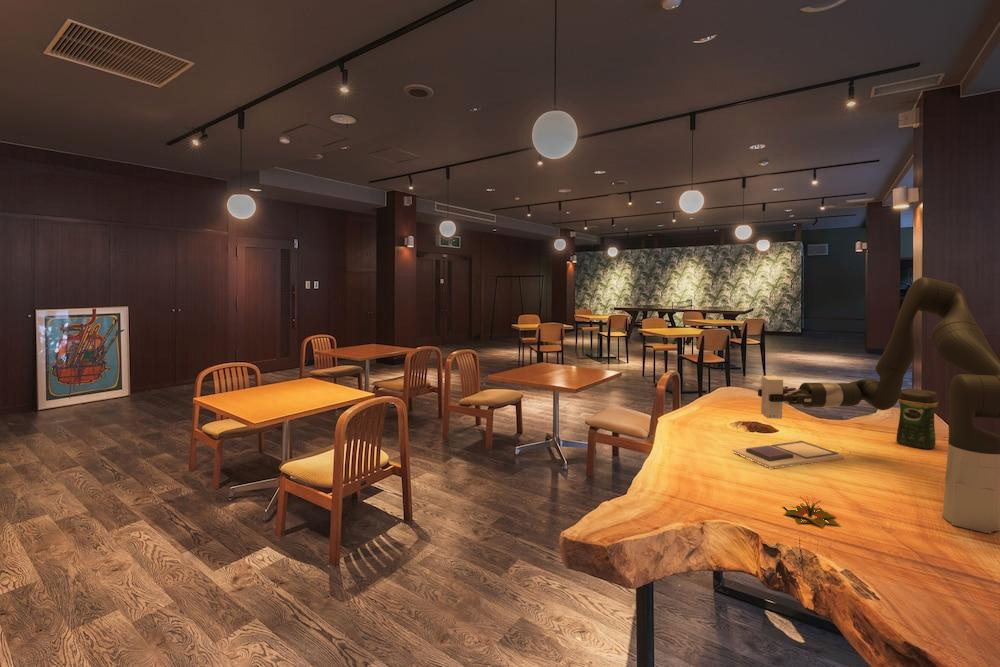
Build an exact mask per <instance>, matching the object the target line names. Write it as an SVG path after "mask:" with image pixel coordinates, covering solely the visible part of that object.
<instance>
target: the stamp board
mask: <svg viewBox="0 0 1000 667" xmlns="http://www.w3.org/2000/svg"><path fill="white" fill-rule="evenodd" d="M732 451H734V452H736V453H739V454H741V455H743V456H745V457H747V458H750V459H752V460H754V461H756V462H759V463H761V464H763V465H766V466H768V467H770V468H775V467H782V466H789V467H791V466H790V465H796V466H798V465H797V464H802V465H807V464H806V463H808V464H814V463H813V462H815V463H820V462H827V461H833V460H841V459H844V454H842V453H839V452H836V451H834V450H830V449H827V448H824V447H821V446H818V445H815V444H812V443H809V442H806V441H803V440H794V441H787V442H778V443H772V444H763V445H756V446H750V447H742V448H736V449H732V450H731V452H732Z"/></svg>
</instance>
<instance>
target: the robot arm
mask: <svg viewBox="0 0 1000 667" xmlns="http://www.w3.org/2000/svg"><path fill="white" fill-rule="evenodd" d="M919 311H920V312H922V313H923V312H924V313H927V314H931V315H934V316H936V317H939V318H940V319H941V320H940V321H939V322H938V323H937V324H935V326H934V327H933V330H932V332H931V338H932V342H933V344H934V346H935V348H936V350H937V352H938V354H939V356H940V357H941V358H942V359H943V360H944V361H946V362H947V363H949V364H950V365H952V366H954V367H955V368H957V369H959V370H960V371H962V372H964V373H967V374H964V373H963V374H962V373H960V374H959V373H958V374H956V375H955V376H953V377H952V380H951V381H950V384H949V389H948V390H949V391H948V393H949V394H948V409H949V410H948V443H947V454H946V467H945V478H944V494H943V507H942V508H943V509H942V517H943V518H944V520H945V521H947V522H949V523H951V525H952V526H955V527H959V528H964V529H968V530H972V531H977V532H979V533H984V534H988V533H989V534H992V533H994V532H993V531H996V532H998V530H999V529H1000V434H998V433H996V432H995V433H994V432H991V431H988V430H986V429H984V428H982V427H979V426H977V424H975V422H974V421H975V420H974V418H983V419H994V420H998V419H999V420H1000V359H999V358H998V357H997V355H996V353H995V352H994V351H993V349H992V347H991V346H990V344H989V341H988V339H987V338H986V336H985V334H984V333H983V330H982V329H981V328H980V326H979V324H978V323H977V321H976V320H975V318H974V316H973V314H972V312H971V310H970V307H969V305H968V301H967V299H966V296H965V294H964V291H963V289H962V288H961V287H960V286H958V285H957V284H955V283H950V282H947V281H942V280H939V279H935V278H931V277H926V276H924V277H919V278H918V279H916V280H915V281H913V282H912V284H910V287H909V288H908V290H907V292H906V294H905V296H904V298H903V301H902V304H901V307H900V308H899V312H898V316H897V318H896V320H895V324H894V327H893V329H892V330H893V331H892V333H891V336H890V338H889V341H888V343H887V344H886V347H885V349H884V351H883V353H882V355H881V356H880V358H879V360H878V361H877V363H876V366H875V372H876V373H877V375H878V376H879V380H876V379H873V378H870V379H869V378H863V379H859V380H855V381H852V382H851V381H850V382H825V381H824V382H818V381H817V382H802V383H801V384H800V385H799V387H798V389H797V388H796V387H791V386H790V387H789V386H783V394H770V395H769V401H770V402H782V403H784V404H788V405H801V406H803V407H804V408H809V409H810V408H834V407H854V406H857V405H859V404H860V403H861V401H864V402H865V403H867V404H869V406H870V405H871V407H873V408H875V409H876V410H879V411H887V410H889V409H892V408H893V407H895V405H896V404H897V403H898V402H899V401H898V399H899V397H900V393H901V390H902V388H903V383H904V378H905V375H906V373H907V372H908V371H909V368H910V366H911V365H912V363H913V361H914V359H915V356H916V353H917V352H916V351H917V347H916V341H915V333H914V321H915V318H916V316H917V313H918V312H919ZM757 396H758V397H760V398H762V388H760V389H758V390H757ZM999 531H1000V530H999ZM989 534H988V535H989Z"/></svg>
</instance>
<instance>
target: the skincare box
mask: <svg viewBox="0 0 1000 667" xmlns="http://www.w3.org/2000/svg"><path fill="white" fill-rule="evenodd" d="M783 387H784V379H782V378H780V377H779V376H775V375H773V376H771V375H762V380H761V389H762V397H761V404H760V405H761V406H760V407H761V409H760V411H761V412H760V414H761V415H762V416H764V418H767V419H773V420H777V419H778V420H779V419H780V420H781V419H783V402H770V401H769V395H770V394H783Z"/></svg>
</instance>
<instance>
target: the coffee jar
mask: <svg viewBox="0 0 1000 667" xmlns="http://www.w3.org/2000/svg"><path fill="white" fill-rule="evenodd" d="M897 402H898V404H899V406H900V409H899V410H900V411H899V420H898V425H897V430H896V436H895V437H896V438H895V440H896V442H897V443H899V444H901V445H903V446H907V447H912V448H917V449H933V448H934V447H936V430H935V429H936V427H935V413H936V412H935V411H936V409H937V407H938V405H939V399H938V394H937V391H931V390H925V389H919V388H912V387H910V388H909V387H908V388H907V387H906V388H903V389H902V388H901V393H900V397H899V399H898V401H897Z"/></svg>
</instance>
